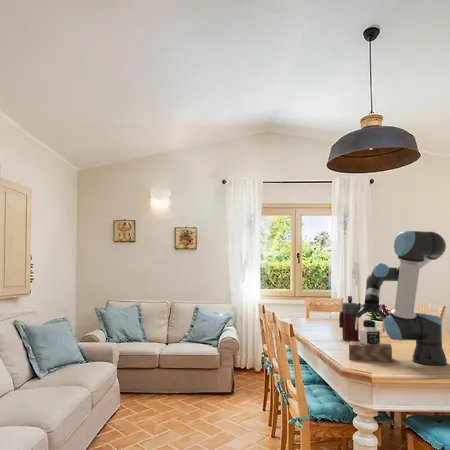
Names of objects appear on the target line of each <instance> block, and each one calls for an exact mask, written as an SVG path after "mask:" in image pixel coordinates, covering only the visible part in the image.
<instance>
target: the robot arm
mask: <svg viewBox="0 0 450 450" xmlns="http://www.w3.org/2000/svg"><path fill="white" fill-rule="evenodd" d="M446 248H447V245H446V240H445V239H444V237H443V236H442V235H440V234H439V233H437V232H435V231H422V230H421V231H420V230H417V231H416V230H407V231H406V230H404V231H401V232H399V233H398V234H397V236H396V237H395V239H394V243H393V249H394V254H395V255H396V256H397V259H398V260H399V261H400V262H399V263H400V264H399V266H397V267H389V266H388V265H387V264H386V263H385V264H384V263H383V262H380V263H377V264H376V265H375V266H374V267H373V269H372V272H371V274H369V275H368V276H367V278H366V281H365V282H366V284H365V295H364V303H363V304H362V303H360V302H359V303H357V304H358V306H357V307H356V309H355V310H354V311H353V312H352V314H351V318H352V319H354V324H355V330H357V326H358V327H359V318H360V317H362V316H363V315H365V314H367V313H373V314H374V313H376V314H377V315H378V316H380V318H381V319H382V332H383V333H385V332H386V334H387V336H388V337H389V338H390V339H391V340H393V341H400V342H401V341H415V347H414V350H413V355H412V361H413V362H414V363H416V364H420V365H428V366H445V365H447V364H448V361H447V360H448V359H447V357H446V354H445V351H444V348H443V334H442V331H443V330H442V328H443V327H442V326H443V324H442V319H441V317H440V316H438V315H434V314H433V315H432V314H426V313H419V312H415V304H416V296H417V291H418V290H417V289H418V282H419V276H420V275H419V274H420V269H421V270H422V268H424V267H425V266H426V265H428V264H430V262H432V261H436V260H438V259H439V258H440V257H442V256H443V255H444V254H445V251H446ZM384 282H397V287H396V294H395V295H396V296H395V303H394V308H393V309H391V310H390V313H389V312H388V310H387V308H386V304H385V303H383V304H382V305H381V304H380V295H381V287H382V285H383V283H384ZM380 309H381V310H382V311H383V312H382V311H381V310H380Z"/></svg>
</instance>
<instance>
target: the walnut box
mask: <svg viewBox="0 0 450 450" xmlns="http://www.w3.org/2000/svg"><path fill="white" fill-rule="evenodd" d="M392 349H393V347H392V345H391V343H384V342H383V343H382V342H380V345H364V344H361V343H360V341H349V344H348V359H349V360H354V359H355V360H354V361H356V360H357V361H367V362H370V361H371V362H382V363H393V350H392Z"/></svg>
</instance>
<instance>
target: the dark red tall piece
mask: <svg viewBox="0 0 450 450" xmlns="http://www.w3.org/2000/svg"><path fill="white" fill-rule="evenodd" d="M357 306H358V303H356V302H353V296H352V295H348V296H347V302H342V303H341V310H342V311H340V312H339V316H338V321H339V324H338V325H339V328H340V329H341V330H342V339H343V341H349V342H350V341H354V342H360V329H359V325H358V326H357V330H355V324H354V319H352V318H351V314H352V312H353V311H354V310H355V309H356V307H357Z"/></svg>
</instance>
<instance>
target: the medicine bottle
mask: <svg viewBox="0 0 450 450" xmlns="http://www.w3.org/2000/svg"><path fill="white" fill-rule="evenodd" d="M362 322H363V328H360V329H359V342H360V343H361V344H364V345H380V343H381V337H380V336H381V335H380V334H381V331H380V330H377V322H376V321H375V320H373V319H365V320H363V321H362Z"/></svg>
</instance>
